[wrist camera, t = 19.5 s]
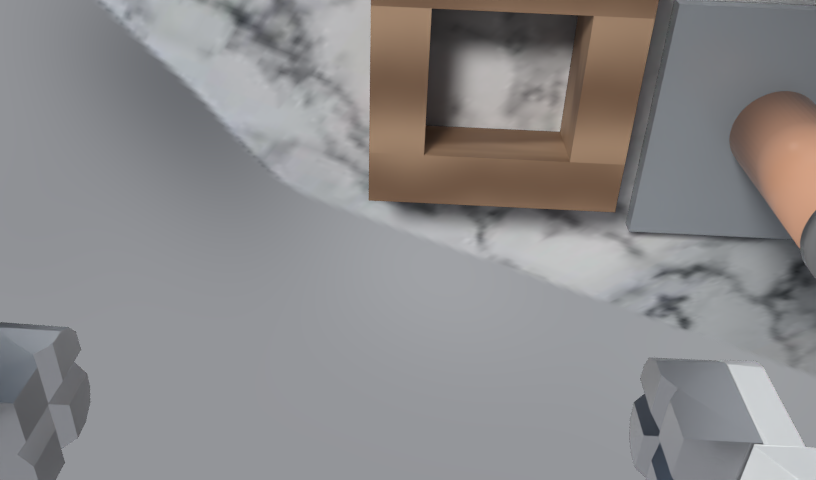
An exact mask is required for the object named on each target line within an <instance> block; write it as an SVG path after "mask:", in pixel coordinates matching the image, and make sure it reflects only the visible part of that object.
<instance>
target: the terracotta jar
mask: <svg viewBox="0 0 816 480" xmlns="http://www.w3.org/2000/svg"><path fill="white" fill-rule="evenodd" d="M729 142H730V148H731V152H732V154H733V156H734V157H735V159H736V160H737V162H738V163H739V164H740V166H741V167H742V169H743V170H744V171H745V173H746V174H747V176H748V177H749V178H750V180H751V181H752V183H753V184H754V185H755V187H756V188H757V190H758V191H759V192H760V194H761V195H762V197H763V198H764V199H765V201H766V202H767V204H768V205H769V206H770V208H771V209H772V211H773V212H774V213H775V215H776V216H777V218H778V219H779V220H780V222H781V223H782V225H783V226H784V227H785V229H786V230H787V232H788V233H789V234H790V236H791V237H792V239H793V240H794V241H795V243H796V244H797V246H798V247H799V248H800V252H801V257H802V259H803V261H804V263H805V265H806V266H807V268H808V269H809V270H810V272H811V273H812V275H813V276H814V278H815V279H816V104H815V103H814V102H813V101H812V100H810V99H809V98H808V97H806V96H805V95H802V94H800V93H796V92H791V91H780V92H774V93H770V94H767V95H764V96H762V97H760V98H758V99H756V100H755V101H753V102H752V103H750V104H749V105H748V106H747V107H745V108H744V109H743V110H742V112H741V113H740V114H739V115H738V117H737V118H736V120H735V122H734V123H733V126H732V128H731V132H730V139H729Z"/></svg>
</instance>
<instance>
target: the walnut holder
mask: <svg viewBox="0 0 816 480" xmlns="http://www.w3.org/2000/svg"><path fill="white" fill-rule="evenodd" d="M658 2H659V0H371V52H370V139H369V200H373V201H394V202H415V203H435V204H456V205H476V206H497V207H517V208H538V209H558V210H579V211H600V212H615V209H616V205H617V200H618V195H619V190H620V185H621V181H622V176H623V171H624V166H625V161H626V157H627V152H628V147H629V142H630V137H631V132H632V128H633V123H634V118H635V113H636V108H637V104H638V99H639V94H640V89H641V84H642V79H643V75H644V70H645V65H646V60H647V55H648V51H649V46H650V41H651V36H652V31H653V27H654V22H655V17H656V12H657V7H658ZM432 9H454V10H475V11H497V12H518V13H540V14H561V15H578V20H577V26H576V32H575V39H574V45H573V52H572V58H571V65H570V71H569V78H568V84H567V91H566V97H565V104H564V110H563V117H562V123H561V130H560V132H549V131H528V130H507V129H486V128H465V127H445V126H426V107H427V89H428V70H429V51H430V32H431V13H432Z"/></svg>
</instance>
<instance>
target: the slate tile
mask: <svg viewBox="0 0 816 480" xmlns="http://www.w3.org/2000/svg"><path fill="white" fill-rule="evenodd" d="M780 91H791V92H796V93H800V94H802V95H805V96H806V97H808V98H809V99H810V100H812V101H813V102H814V103H815V104H816V6H814V5H792V4H771V3H749V2H727V1H706V0H674V5H673V9H672V14H671V18H670V23H669V28H668V32H667V37H666V41H665V46H664V50H663V55H662V60H661V64H660V69H659V73H658V78H657V83H656V87H655V92H654V96H653V101H652V105H651V110H650V115H649V119H648V124H647V128H646V133H645V138H644V142H643V147H642V151H641V156H640V160H639V165H638V170H637V174H636V179H635V183H634V188H633V192H632V197H631V202H630V206H629V211H628V215H627V220H626V225H627V227H628V230H629V231H631V232H651V233H672V234H692V235H713V236H733V237H754V238H774V239H792V237H791V236H790V234H789V233H788V232H787V230H786V229H785V227H784V226H783V225H782V223H781V222H780V220H779V219H778V218H777V216H776V215H775V213H774V212H773V211H772V209H771V208H770V206H769V205H768V204H767V202H766V201H765V199H764V198H763V197H762V195H761V194H760V192H759V191H758V190H757V188H756V187H755V185H754V184H753V183H752V181H751V180H750V178H749V177H748V176H747V174H746V173H745V171H744V170H743V169H742V167H741V166H740V164H739V163H738V162H737V160H736V159H735V157H734V156H733V154H732V152H731V148H730V142H729V139H730V132H731V128H732V126H733V123H734V122H735V120H736V118H737V117H738V115H739V114H740V113H741V112H742V110H743V109H744V108H745V107H747V106H748V105H749V104H750V103H752V102H753V101H755V100H756V99H758V98H760V97H762V96H764V95H767V94H770V93H774V92H780Z"/></svg>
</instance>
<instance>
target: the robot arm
mask: <svg viewBox="0 0 816 480" xmlns="http://www.w3.org/2000/svg"><path fill="white" fill-rule="evenodd" d="M80 351H81V347H80V344H79V341H78V337H77V334H76V331H74V330H72V329H71V328H69V327H58V326H45V325H32V324H17V323H5V322H1V323H0V480H56V478H57V476H58V474H59V473H60V471H61V469H62V467H63V465H64V463H65V461H64V458H63V454H62V450H61V449H62V448H64V447H65V446H66V445H68V444H69V443H71V442H73V441H74V440H75V439H77V438H78V437H79V435H80V433H81V431H82V428H83V427H84V425H85V423H86V419H87V414H88V410H89V406H90V385H89V380H88V376H87V373H86V372H85V371H84V370H83V369H82V368H81V367H80V366H78V365H77V364H76V363H75V362H74V361H75V359H76V357H77V356H78V354H79V352H80ZM640 379H641V383H642V386H643V389H644V393H645V394H644V395H642V396H641V397H640V398H639V399H637V400H636V401H635V402H634V404H633V409H632V413H631V418H630V432H629V440H630V448H631V454H632V458H633V462H634V466H635V468H636V469H637V470H638V471H639V472H640V473H641V474H643V476H645V477H646V480H816V448H813V447H806V445H805V444H804V442H803V440H802V438H801V436H800V434H799V432H798V431H797V429H796V427H795V425H794V423H793V421H792V419H791V418H790V416H789V414H788V412H787V410H786V408H785V407H784V405H783V403H782V401H781V399H780V397H779V395H778V394H777V392H776V390H775V388H774V386H773V384H772V383H771V381H770V379H769V377H768V375H767V373H766V371H765V370H764V368H763V366H762V365H761V364H759V363H758V362H757V361H734V360H720V361H712V360H690V359H689V360H688V359H667V358H648V360H647V361H646V363H645V365H644V367H643V371H642V375H641V378H640Z"/></svg>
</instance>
